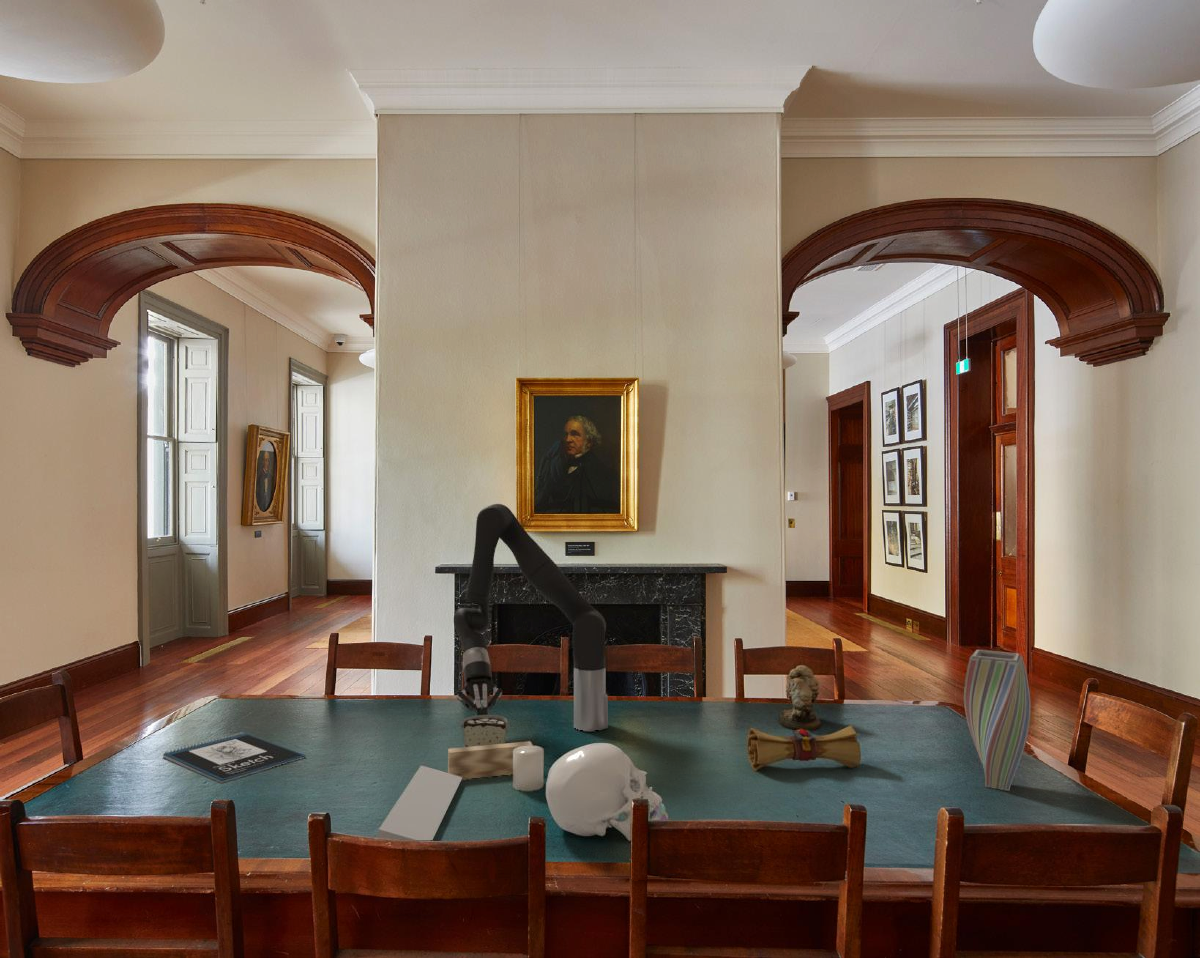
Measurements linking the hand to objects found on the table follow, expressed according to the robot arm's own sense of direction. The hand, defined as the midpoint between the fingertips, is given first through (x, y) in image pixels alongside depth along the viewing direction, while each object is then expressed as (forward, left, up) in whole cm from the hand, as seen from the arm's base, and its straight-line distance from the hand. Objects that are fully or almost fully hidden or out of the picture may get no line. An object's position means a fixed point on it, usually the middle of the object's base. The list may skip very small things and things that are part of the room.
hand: (483, 722), depth 202 cm
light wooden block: (+1, +21, -6) cm, 22 cm away
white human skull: (-16, +60, -6) cm, 63 cm away
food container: (0, +10, -6) cm, 12 cm away
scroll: (-73, +40, -6) cm, 84 cm away
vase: (-110, +63, -6) cm, 127 cm away
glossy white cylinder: (-6, +32, -6) cm, 33 cm away
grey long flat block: (+19, +42, -7) cm, 46 cm away
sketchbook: (+62, -8, -7) cm, 63 cm away
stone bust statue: (-93, +6, -6) cm, 93 cm away
